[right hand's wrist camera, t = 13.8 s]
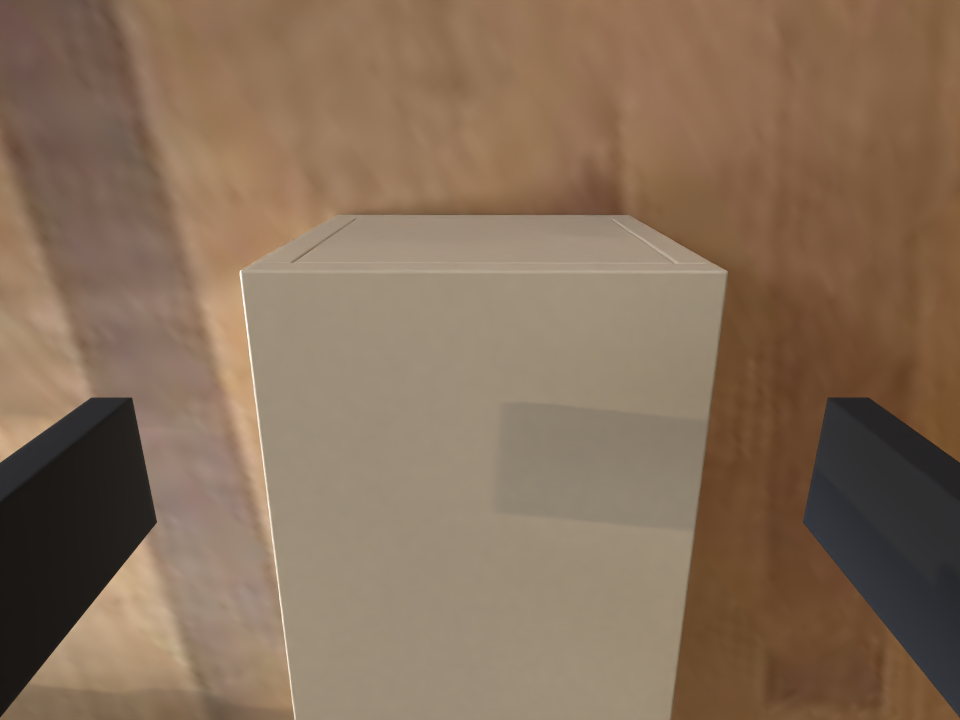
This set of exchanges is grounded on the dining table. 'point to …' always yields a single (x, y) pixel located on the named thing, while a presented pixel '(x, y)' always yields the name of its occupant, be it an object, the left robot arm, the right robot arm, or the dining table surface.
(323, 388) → the cabinet
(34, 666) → the right robot arm
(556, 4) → the dining table surface
